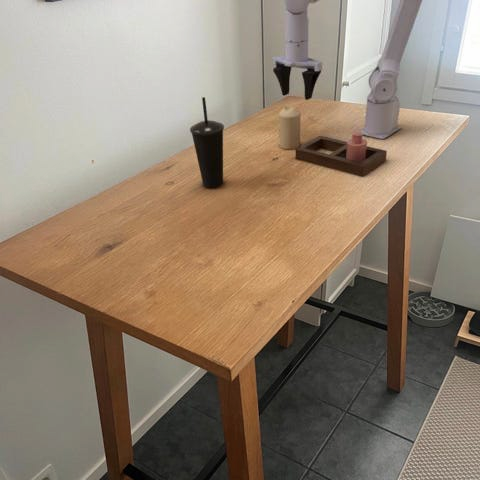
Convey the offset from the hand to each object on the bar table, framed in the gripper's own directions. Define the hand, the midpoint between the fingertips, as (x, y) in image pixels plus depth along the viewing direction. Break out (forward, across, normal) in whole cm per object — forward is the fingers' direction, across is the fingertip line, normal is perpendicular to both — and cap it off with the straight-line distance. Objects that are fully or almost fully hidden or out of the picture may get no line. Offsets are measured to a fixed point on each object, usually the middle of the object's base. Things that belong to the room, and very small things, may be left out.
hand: (296, 96), depth 136 cm
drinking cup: (+11, +2, -36) cm, 38 cm away
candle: (+11, +3, -7) cm, 13 cm away
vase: (+10, +24, -8) cm, 27 cm away
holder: (+10, +20, -8) cm, 24 cm away
